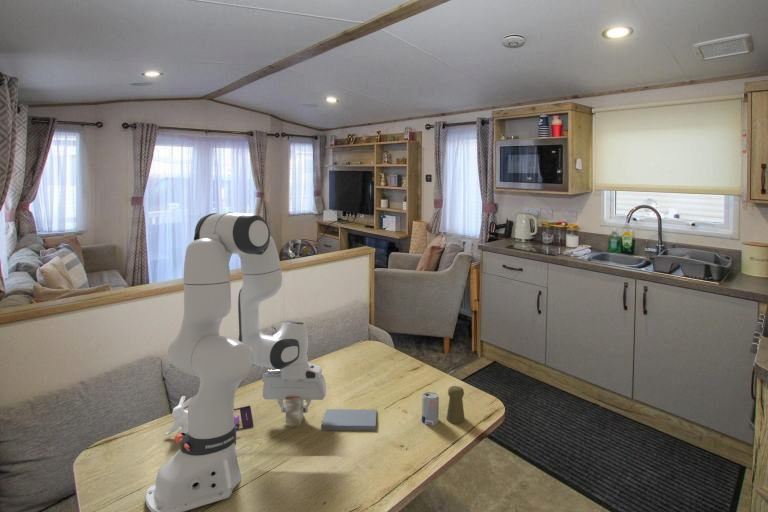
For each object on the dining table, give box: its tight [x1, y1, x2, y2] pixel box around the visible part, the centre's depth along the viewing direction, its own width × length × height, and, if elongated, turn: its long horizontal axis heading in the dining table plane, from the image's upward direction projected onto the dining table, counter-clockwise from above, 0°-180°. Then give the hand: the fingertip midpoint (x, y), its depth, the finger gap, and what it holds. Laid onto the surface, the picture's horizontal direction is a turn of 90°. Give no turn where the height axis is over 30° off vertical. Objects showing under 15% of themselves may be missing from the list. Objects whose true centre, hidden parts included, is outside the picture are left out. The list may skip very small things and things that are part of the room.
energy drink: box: [421, 391, 440, 426], centre depth 139 cm, size 5×5×12 cm
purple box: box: [234, 405, 254, 431], centre depth 135 cm, size 7×5×9 cm
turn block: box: [284, 397, 305, 427], centre depth 138 cm, size 4×6×9 cm
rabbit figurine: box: [163, 395, 193, 436], centre depth 133 cm, size 12×8×10 cm, turn 96°
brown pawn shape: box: [446, 385, 466, 425], centre depth 139 cm, size 6×6×11 cm
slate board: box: [320, 408, 378, 431], centre depth 138 cm, size 17×12×2 cm
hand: (294, 411), depth 138 cm, fingers open, 5 cm apart
